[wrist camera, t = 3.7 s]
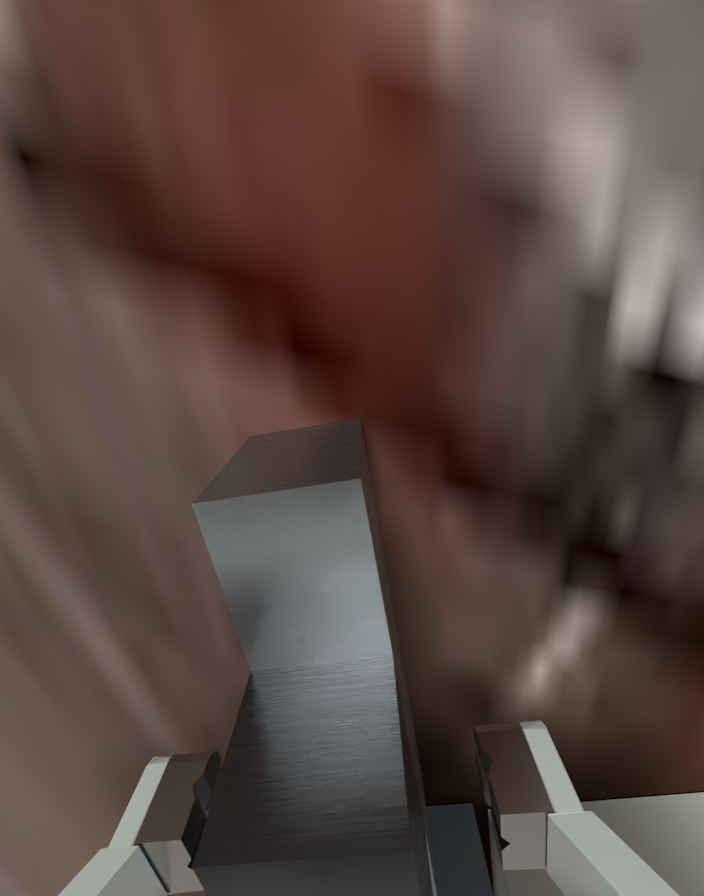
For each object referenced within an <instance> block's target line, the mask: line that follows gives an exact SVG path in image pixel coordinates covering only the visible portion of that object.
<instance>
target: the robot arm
mask: <svg viewBox="0 0 704 896" xmlns="http://www.w3.org/2000/svg"><path fill="white" fill-rule="evenodd" d="M474 738H475V742H476V746H477V748H476V749H475V754H476V762H477V768H478V774H479V778H480V783H481V787H482V791H483V795H484V799H485V802H486V803H487V804H488V805H489V806H490V810H491V823H492V830H493V834H494V838H495V841H496V845H497V849H498V853H499V856H500V860H501V864H502V868H503V870H526V869H547V873H548V874H549V876H550V877H551V878H552V880H553V881H554V882H555V884H556V885H557V886H558V887H559V889H560V890H561V891H562V893H563V894H564V895H565V896H680V895H679V894H678V893H677V892H676V891H675V890H674V889H673V888H672V887H670V886H669V885H668V884H667V883H666V882H665V881H664V880H663V879H662V878H661V877H660V876H659V875H658V874H657V873H656V872H655V871H654V870H653V869H652V868H651V867H650V866H649V865H648V864H647V863H646V862H645V861H644V860H643V859H642V858H641V857H640V856H638V855H637V854H636V853H635V852H634V851H633V850H632V849H631V848H630V847H629V846H628V845H627V844H626V843H625V842H624V841H623V840H622V839H621V838H620V837H619V836H618V835H617V834H616V833H615V832H614V831H613V830H612V829H611V828H610V827H609V826H608V825H607V824H605V823H604V822H603V821H602V820H601V819H600V818H599V817H598V816H597V815H596V814H595V813H594V812H593V811H592V810H584V809H583V807H582V805H581V802H580V800H579V798H578V796H577V794H576V791H575V789H574V787H573V785H572V783H571V780H570V778H569V776H568V774H567V772H566V769H565V767H564V765H563V763H562V761H561V758H560V756H559V754H558V752H557V750H556V747H555V745H554V743H553V741H552V739H551V736H550V734H549V732H548V730H547V728H546V726H545V725H544V723H543V722H542V721H541V720H533V721H523V722H509V723H500V724H492V725H483V726H474ZM221 761H222V759H221V757H220V755H219V753H218V751H211V752H200V753H189V754H173V755H164V756H154V757H153V758H152V759H151V761H150V762H149V763H148V764H147V766H146V768H145V770H144V772H143V774H142V776H141V778H140V781H139V783H138V785H137V787H136V789H135V791H134V793H133V795H132V798H131V800H130V802H129V804H128V806H127V808H126V810H125V813H124V815H123V817H122V819H121V821H120V823H119V825H118V827H117V830H116V832H115V834H114V836H113V838H112V840H111V842H110V844H109V847H105V848H101V849H100V850H99V852H98V853H97V854H96V855H95V856H94V857H93V858H92V859H91V860H90V861H89V862H88V863H87V865H86V866H85V867H84V868H83V869H82V870H81V871H80V872H79V873H78V874H77V875H76V877H75V878H74V879H73V880H72V881H71V882H70V883H69V884H68V885H67V886H66V887H65V888H64V890H63V891H62V892H61V893H60V894H59V895H58V896H168V894H176V893H185V892H194V891H204V889H203V887H202V885H201V883H200V882H199V880H198V878H197V876H196V874H195V873H194V871H193V869H192V865H193V862H194V859H195V855H196V852H197V849H198V845H199V842H200V839H201V835H202V832H203V829H204V826H205V822H206V819H207V816H208V812H209V809H210V806H211V802H212V799H213V796H214V792H215V789H216V786H217V783H218V779H219V776H220V773H221V768H220V764H221Z"/></svg>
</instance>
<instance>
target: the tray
mask: <svg viewBox="0 0 704 896" xmlns="http://www.w3.org/2000/svg"><path fill="white" fill-rule="evenodd" d="M426 810H427V817H428V825H429V833H430V840H431V848H432V855H433V863H434V870H435V878H436V886H437V893H438V896H494V895H493V891H492V887H491V882H490V878H489V874H488V869H487V865H486V861H485V856H484V852H483V848H482V843H481V839H480V835H479V830H478V826H477V822H476V817H475V813H474V809H473V804H472V803H464V804H452V805H439V806H427V807H426Z"/></svg>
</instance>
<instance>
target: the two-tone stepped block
mask: <svg viewBox="0 0 704 896" xmlns="http://www.w3.org/2000/svg"><path fill="white" fill-rule="evenodd" d="M192 506H193V509H194V512H195V514H196V517H197V520H198V523H199V526H200V529H201V531H202V534H203V537H204V540H205V543H206V545H207V548H208V551H209V554H210V557H211V560H212V562H213V565H214V568H215V571H216V574H217V576H218V579H219V582H220V585H221V588H222V591H223V593H224V596H225V599H226V602H227V605H228V607H229V610H230V613H231V616H232V619H233V622H234V624H235V627H236V630H237V633H238V636H239V638H240V641H241V644H242V647H243V650H244V652H245V655H246V658H247V661H248V664H249V667H250V669H251V673H250V677H249V680H248V683H247V687H246V690H245V693H244V697H243V700H242V703H241V706H240V710H239V713H238V716H237V720H236V723H235V726H234V730H233V733H232V736H231V740H230V743H229V746H228V749H227V753H226V756H225V759H224V763H223V766H222V769H221V773H220V776H219V779H218V783H217V786H216V789H215V792H214V796H213V799H212V802H211V806H210V809H209V812H208V816H207V819H206V822H205V826H204V829H203V832H202V835H201V839H200V842H199V845H198V849H197V852H196V855H195V859H194V862H193V865H192V869H193V871H194V873H195V874H196V876H197V878H198V880H199V882H200V883H201V885H202V887H203V889H204V891H205V892H206V894H207V896H438V893H437V886H436V878H435V870H434V863H433V855H432V848H431V840H430V833H429V825H428V817H427V810H426V802H425V795H424V787H423V780H422V772H421V765H420V759H419V753H418V747H417V741H416V736H415V730H414V724H413V718H412V713H411V707H410V701H409V695H408V689H407V684H406V678H405V672H404V666H403V660H402V655H401V649H400V643H399V637H398V632H397V626H396V620H395V614H394V608H393V603H392V597H391V591H390V585H389V580H388V574H387V568H386V562H385V556H384V551H383V545H382V539H381V533H380V527H379V522H378V516H377V510H376V504H375V499H374V493H373V487H372V481H371V475H370V470H369V464H368V458H367V452H366V447H365V441H364V435H363V429H362V423H361V418H358V419H352V420H346V421H340V422H334V423H328V424H322V425H316V426H310V427H304V428H297V429H291V430H285V431H279V432H273V433H267V434H261V435H255V436H250V437H249V439H248V440H247V441H246V442H245V443H244V444H243V446H242V447H241V448H240V449H239V450H238V451H237V452H236V454H235V455H234V456H233V457H232V458H231V459H230V461H229V462H228V463H227V464H226V465H225V466H224V467H223V469H222V470H221V471H220V472H219V473H218V474H217V475H216V477H215V478H214V479H213V480H212V481H211V482H210V484H209V485H208V486H207V487H206V488H205V489H204V490H203V492H202V493H201V494H200V495H199V496H198V497H197V498H196V500H195V501H194V502H193V503H192Z"/></svg>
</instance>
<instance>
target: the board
mask: <svg viewBox="0 0 704 896" xmlns="http://www.w3.org/2000/svg"><path fill="white" fill-rule="evenodd" d="M581 805H582V807H583V809H584V810H592V811H593V812H594V813H595V814H596V815H597V816H598V817H599V818H600V819H601V820H602V821H603V822H604V823H605V824H607V825H608V826H609V827H610V828H611V829H612V830H613V831H614V832H615V833H616V834H617V835H618V836H619V837H620V838H621V839H622V840H623V841H624V842H625V843H626V844H627V845H628V846H629V847H630V848H631V849H632V850H633V851H634V852H635V853H636V854H637V855H638V856H640V857H641V858H642V859H643V860H644V861H645V862H646V863H647V864H648V865H649V866H650V867H651V868H652V869H653V870H654V871H655V872H656V873H657V874H658V875H659V876H660V877H661V878H662V879H663V880H664V881H665V882H666V883H667V884H668V885H669V886H670V887H672V888H673V889H674V890H675V891H676V892H677V893H678V894H679V895H680V896H704V792H702V793H689V794H676V795H663V796H651V797H638V798H625V799H612V800H600V801H587V802H581ZM488 820H489V834H490V849H491V864H492V878H493V893H494V896H565V895H564V894H563V893H562V891H561V890H560V889H559V887H558V886H557V885H556V884H555V882H554V881H553V880H552V878H551V877H550V876H549V874H548V873H547V869H526V870H503V868H502V864H501V860H500V856H499V853H498V849H497V845H496V841H495V838H494V834H493V830H492V823H491V810H490V809H488Z"/></svg>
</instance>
